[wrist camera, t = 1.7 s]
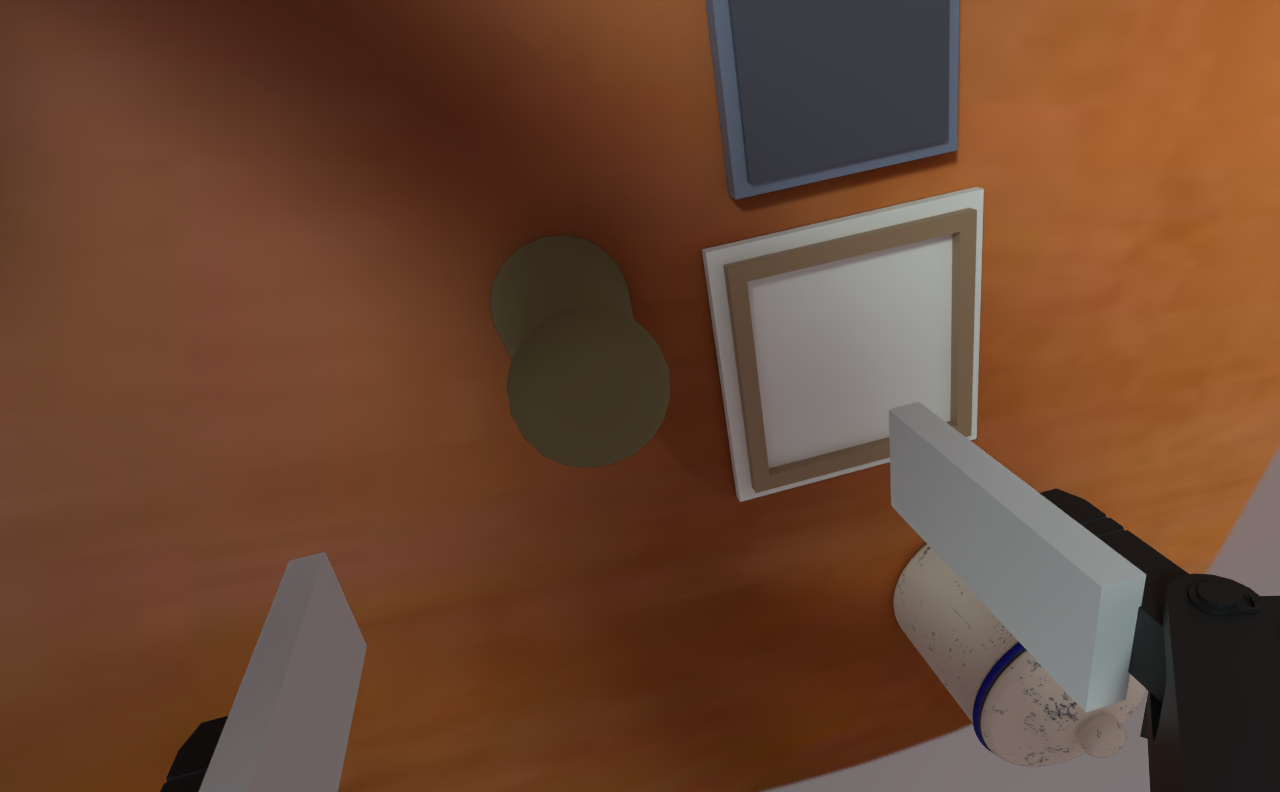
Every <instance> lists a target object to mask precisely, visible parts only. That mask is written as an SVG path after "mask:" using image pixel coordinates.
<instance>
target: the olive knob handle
mask: <svg viewBox="0 0 1280 792" xmlns="http://www.w3.org/2000/svg"><path fill="white" fill-rule="evenodd" d="M490 306H491V312H492V318H493V324H494V326H495V328H496V330H497V332H498V334H499V336H500V338H501V340H502V342H503V344H504V346H505V348H506V350H507V352H508V354H509V356H510V358H511V366H510V371H509V377H508V382H507V392H508V398H509V404H510V410H511V415H512V417H513V419H514V421H515V423H516V424H517V426H518V428H519V430H520V431H521V433H522V435H523V436H524V438H525V439H526V440H527V441H528V442H529V443H530V444H531V445H532V446H533V447H534V448H536V449H537V450H538V451H539V452H540V453H541V454H542V455H543V456H545V457H547V458H550V459H552V460H554V461H557V462H559V463H561V464H563V465H567V466H575V467H584V468H592V467H598V466H605V465H611V464H614V463H616V462H618V461H620V460H623V459H625V458H627V457H629V456H631V455H633V454H635V453H636V452H637V451H638V450H639V449H641V448H642V447H643V446H644V445H645V444H646V443H648V442H649V441H650V440H651V439H652V438H653V436H654V435H655V433H656V432H657V430H658V429H659V427H660V425H661V424H662V422H663V421H664V419H665V415H666V411H667V408H668V404H669V400H670V379H669V367H668V365H667V363H666V360H665V358H664V355H663V353H662V351H661V348H660V346H659V345H658V343H657V342H656V341H655V339H654V338H653V337H652V336H651V335H650V334H649V333H648V332H647V331H646V330H645V329H644V328H643V326H642V325H641V324H640V323H638V322H636V321H635V320H634V315H633V310H632V305H631V299H630V294H629V289H628V285H627V282H626V280H625V278H624V275H623V273H622V271H621V268H620V266H619V265H618V264H617V263H616V262H615V260H614V259H613V258H612V257H611V256H610V255H609V254H608V253H607V252H606V250H604V249H602V248H601V247H599V246H597V245H595V244H594V243H592V242H590V241H588V240H587V239H583V238H578V237H573V236H568V235H557V236H549V237H541V238H539V239H537V240H534V241H532V242H530V243H528V244H526V245H524V246H521V247H520V248H519V249H518V250H517V251H516V252H515V253H514V254H512V255H511V256H510V257H509V258H508V259H507V260H506V261H505V262H504V263H503V265H502V267H501V269H500V271H499V273H498V274H497V276H496V278H495V280H494V282H493V288H492V294H491V300H490Z"/></svg>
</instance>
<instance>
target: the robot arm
mask: <svg viewBox="0 0 1280 792" xmlns="http://www.w3.org/2000/svg"><path fill="white" fill-rule="evenodd" d="M889 441H890V480H891V506H892V507H893V508H894V509H895V510H896V511H897V512H898V513H899V514H900V516H901V517H902V518H903V519H904V520H905V521H906V522H907V523H908V524H909V525H910V526H911V527H912V528H913V529H914V530H915V531H916V533H917V534H918V535H919V536H920V537H921V538H922V539H923V540H924V541H925V542H926V543H927V544H928V545H929V546H930V547H931V549H932V550H933V551H934V552H935V553H936V554H937V555H938V556H939V557H940V558H941V559H942V560H943V561H944V562H945V563H946V565H947V566H948V567H949V568H950V569H951V570H952V571H953V572H954V573H955V574H956V575H957V576H958V577H959V578H960V579H961V581H962V582H963V583H964V584H965V585H966V586H967V587H968V588H969V589H970V590H971V591H972V592H973V593H974V594H975V595H976V597H977V598H978V599H979V600H980V601H981V602H982V603H983V604H984V605H985V606H986V607H987V608H988V609H989V610H990V611H991V612H992V614H993V615H994V616H995V617H996V618H997V619H998V620H999V621H1000V622H1001V623H1002V624H1003V625H1004V626H1005V627H1006V628H1007V630H1008V631H1009V632H1010V633H1011V634H1012V635H1013V636H1014V637H1015V638H1016V639H1017V640H1018V641H1019V642H1020V643H1021V644H1022V646H1023V647H1024V648H1025V649H1026V650H1027V651H1028V652H1029V653H1030V654H1031V655H1032V656H1033V657H1034V658H1035V659H1036V660H1037V662H1038V663H1039V664H1040V665H1041V666H1042V667H1043V668H1044V669H1045V670H1046V671H1047V672H1048V673H1049V674H1050V675H1051V676H1052V678H1053V679H1054V680H1055V681H1056V682H1057V683H1058V684H1059V685H1060V686H1061V687H1062V688H1063V689H1064V690H1065V691H1066V692H1067V693H1068V695H1069V696H1070V697H1071V698H1072V699H1073V700H1074V701H1075V702H1076V703H1077V704H1078V705H1079V706H1080V707H1081V708H1082V709H1083V711H1084V712H1085V713H1086V712H1089V711H1092V710H1095V709H1099V708H1102V707H1105V706H1108V705H1112V704H1115V703H1118V702H1121V701H1125V700H1126V695H1127V689H1128V683H1129V677H1130V674H1131V675H1132V676H1133V677H1134V678H1135V679H1136V680H1137V681H1138V682H1139V683H1140V684H1142V685H1143V686H1144V687H1145V688H1146V689H1147V690H1148V697H1147V702H1146V708H1145V713H1144V719H1143V725H1142V730H1141V737H1144V738H1147V739H1148V755H1149V773H1150V792H1280V596H1259V595H1258V594H1256V593H1255V592H1254V591H1253V590H1251V589H1250V588H1248V587H1246V586H1244V585H1242V584H1240V583H1238V582H1236V581H1233V580H1231V579H1227V578H1223V577H1219V576H1215V575H1209V574H1188V573H1187V572H1185V571H1184V570H1183V569H1181V568H1180V567H1178V566H1177V565H1176V564H1174V563H1173V562H1171V561H1170V560H1169V559H1167V558H1166V557H1164V556H1163V555H1162V554H1160V553H1159V552H1157V551H1156V550H1155V549H1153V548H1152V547H1150V546H1149V545H1148V544H1146V543H1145V542H1143V541H1142V540H1141V539H1139V538H1138V537H1136V536H1135V535H1134V534H1132V533H1131V532H1129V531H1128V530H1126V531H1125V530H1124V529H1123V527H1122V526H1121V525H1120V524H1118V523H1117V522H1115V521H1114V520H1113V519H1111V518H1107V517H1106V514H1104V513H1103V512H1101V511H1100V510H1099V509H1097V508H1096V507H1094V506H1093V505H1092V504H1090V503H1089V502H1087V501H1086V500H1085V499H1082V498H1079V497H1077V496H1074V495H1072V494H1069V493H1067V492H1064V491H1061V490H1059V489H1053V490H1049V491H1045V492H1042V493H1038V492H1037V491H1036V490H1034V489H1033V488H1032V487H1030V486H1029V485H1028V484H1027V483H1025V482H1024V481H1023V480H1021V479H1020V478H1019V477H1017V476H1016V475H1015V474H1013V473H1012V472H1011V471H1009V470H1008V469H1007V468H1006V467H1004V466H1003V465H1002V464H1000V463H999V462H998V461H996V460H995V459H994V458H992V457H991V456H990V455H988V454H987V453H986V452H984V451H983V450H982V449H981V448H979V447H978V446H977V445H975V444H974V443H973V442H971V441H970V440H969V439H967V438H966V437H965V436H963V435H962V434H961V433H959V432H958V431H957V430H956V429H954V428H953V427H952V426H950V425H949V424H948V423H946V422H945V421H944V420H942V419H941V418H940V417H938V416H937V415H936V414H934V413H933V412H932V411H931V410H929V409H928V408H927V407H925V406H924V405H923V404H921V403H920V402H915V403H911V404H907V405H903V406H900V407H896V408H892V409H889ZM366 647H367V646H366V643H365V641H364V639H363V637H362V634H361V632H360V630H359V628H358V625H357V623H356V621H355V618H354V616H353V614H352V612H351V609H350V607H349V605H348V603H347V600H346V598H345V596H344V594H343V591H342V589H341V587H340V585H339V582H338V580H337V578H336V576H335V573H334V571H333V569H332V567H331V564H330V562H329V560H328V558H327V555H326V553H325V552H323V553H319V554H315V555H311V556H307V557H303V558H299V559H295V560H291V561H289V563H288V565H287V568H286V570H285V573H284V575H283V578H282V580H281V583H280V585H279V588H278V591H277V593H276V596H275V598H274V601H273V603H272V606H271V608H270V611H269V614H268V616H267V619H266V621H265V624H264V626H263V629H262V631H261V634H260V637H259V639H258V642H257V644H256V647H255V649H254V652H253V654H252V657H251V659H250V662H249V665H248V667H247V670H246V672H245V675H244V677H243V680H242V682H241V685H240V688H239V690H238V693H237V695H236V698H235V700H234V703H233V705H232V708H231V711H230V713H229V716H226V717H222V718H218V719H215V720H211V721H207V722H204V723H201V724H200V725H199V727H198V728H197V729H196V730H195V731H194V733H193V734H192V735H191V736H190V737H189V739H188V740H187V741H186V742H185V743H184V745H183V746H182V747H181V748H180V749H179V751H178V753H177V755H176V758H175V760H174V762H173V764H172V767H171V769H170V771H169V773H168V776H167V783H164V785H163V787H162V789H161V791H160V792H338V787H339V782H340V777H341V772H342V767H343V762H344V757H345V752H346V747H347V742H348V737H349V732H350V727H351V722H352V717H353V712H354V707H355V702H356V697H357V692H358V687H359V682H360V677H361V672H362V667H363V662H364V657H365V652H366Z"/></svg>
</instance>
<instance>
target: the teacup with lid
mask: <svg viewBox="0 0 1280 792" xmlns="http://www.w3.org/2000/svg"><path fill="white" fill-rule="evenodd" d="M893 606H894V613H895V617H896V620H897V622H898V624H899V626H900V627H901V629H902V630H903V632H904V633H905V634H906V636H907V637H908V638H909V639H910V641H911V642H912V643H913V645H914V646H915V647H916V649H917V650H918V651H919V653H920V654H921V655H922V657H923V658H924V659H925V661H926V662H927V663H928V665H929V666H930V667H931V669H932V670H933V671H934V673H935V674H936V675H937V677H938V678H939V679H940V681H941V682H942V683H943V685H944V686H945V687H946V688H947V690H948V691H949V692H950V694H951V695H952V696H953V698H954V699H955V700H956V702H957V703H958V704H959V706H960V707H961V708H962V710H963V711H964V712H965V714H966V715H967V716H968V718H969V719H970V720H971V722H972V723H973V726H974V730H975V733H976V735H977V737H978V739H979V740H980V742H981V743H982V744H983V745H984V746H985V747H986V748H987V749H988V750H989V751H991V752H993V753H994V754H995V755H996V756H998V757H1000V758H1001V759H1003V760H1006V761H1008V762H1010V763H1013V764H1016V765H1021V766H1031V767H1033V766H1034V767H1038V766H1047V765H1053V764H1057V763H1061V762H1064V761H1067V760H1070V759H1073V758H1075V757H1077V756H1080V755H1082V754H1084V753H1086V752H1087V753H1088V754H1090V755H1091V756H1094V757H1098V758H1105V757H1108V756H1111V755H1113V754H1114V753H1116V752H1117V751H1118V750H1120V749H1121V748H1122V746H1123V745H1124V743H1125V741H1126V731H1125V728H1124V727H1123V724H1124V723H1125V722H1126V721H1127V720H1128V718H1129V717H1130V716H1131V715H1132V713H1133V712H1134V711H1135V709H1136V708H1137V706H1138V704H1139V703H1140V701H1141V699H1142V697H1143V695H1144V692H1145V690H1146V688H1145V687H1144V686H1143V685H1142V684H1140V683H1139V682H1138V681H1137V680H1136V679H1135V678H1134V677H1133V676H1132V675H1131V674H1130V677H1129V683H1128V689H1127V695H1126V700H1125V701H1121V702H1118V703H1115V704H1112V705H1108V706H1105V707H1102V708H1099V709H1095V710H1092V711H1089V712H1086V713H1085V712H1084V711H1083V709H1082V708H1081V707H1080V706H1079V705H1078V704H1077V703H1076V702H1075V701H1074V700H1073V699H1072V698H1071V697H1070V696H1069V695H1068V693H1067V692H1066V691H1065V690H1064V689H1063V688H1062V687H1061V686H1060V685H1059V684H1058V683H1057V682H1056V681H1055V680H1054V679H1053V678H1052V676H1051V675H1050V674H1049V673H1048V672H1047V671H1046V670H1045V669H1044V668H1043V667H1042V666H1041V665H1040V664H1039V663H1038V662H1037V660H1036V659H1035V658H1034V657H1033V656H1032V655H1031V654H1030V653H1029V652H1028V651H1027V650H1026V649H1025V648H1024V647H1023V646H1022V644H1021V643H1020V642H1019V641H1018V640H1017V639H1016V638H1015V637H1014V636H1013V635H1012V634H1011V633H1010V632H1009V631H1008V630H1007V628H1006V627H1005V626H1004V625H1003V624H1002V623H1001V622H1000V621H999V620H998V619H997V618H996V617H995V616H994V615H993V614H992V612H991V611H990V610H989V609H988V608H987V607H986V606H985V605H984V604H983V603H982V602H981V601H980V600H979V599H978V598H977V597H976V595H975V594H974V593H973V592H972V591H971V590H970V589H969V588H968V587H967V586H966V585H965V584H964V583H963V582H962V581H961V579H960V578H959V577H958V576H957V575H956V574H955V573H954V572H953V571H952V570H951V569H950V568H949V567H948V566H947V565H946V563H945V562H944V561H943V560H942V559H941V558H940V557H939V556H938V555H937V554H936V553H935V552H934V551H933V550H932V549H931V547H930V546H929V545H928V544H926V545H925V546H923V547H922V548H921V549H920V550H919V551H918V552H917V553H916V554H915V555H914V556H913V557H912V558H911V560H910V561H909V562H908V564H907V565H906V566H905V568H904V570H903V571H902V573H901V575H900V577H899V579H898V582H897V585H896V588H895V592H894V600H893Z"/></svg>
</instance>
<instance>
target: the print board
mask: <svg viewBox="0 0 1280 792" xmlns="http://www.w3.org/2000/svg"><path fill="white" fill-rule="evenodd" d="M983 196H984V189H982V188H978V187H973V188H969V189H964V190H960V191H955V192H951V193H947V194H942V195H938V196H934V197H929V198H925V199H920V200H916V201H912V202H907V203H903V204H899V205H894V206H890V207H886V208H881V209H877V210H872V211H868V212H864V213H859V214H855V215H851V216H846V217H842V218H837V219H833V220H829V221H824V222H820V223H816V224H811V225H807V226H802V227H798V228H794V229H789V230H785V231H781V232H776V233H772V234H768V235H763V236H759V237H754V238H750V239H746V240H741V241H737V242H733V243H728V244H724V245H719V246H715V247H711V248H706V249H702V255H703V262H704V269H705V276H706V283H707V290H708V297H709V304H710V311H711V319H712V326H713V333H714V340H715V347H716V354H717V361H718V368H719V375H720V382H721V390H722V397H723V404H724V411H725V418H726V425H727V432H728V439H729V446H730V453H731V460H732V468H733V475H734V482H735V489H736V496H737V498H738V499H739V501H740V502H742V501H746V500H750V499H753V498H757V497H761V496H764V495H768V494H772V493H776V492H779V491H783V490H787V489H791V488H794V487H798V486H802V485H806V484H809V483H813V482H817V481H821V480H824V479H828V478H832V477H836V476H839V475H843V474H847V473H851V472H854V471H858V470H862V469H865V468H869V467H873V466H877V465H880V464H884V463H888V462H890V441H889V409H892V408H896V407H900V406H903V405H907V404H911V403H915V402H920V403H921V404H923V405H924V406H925V407H927V408H928V409H929V410H931V411H932V412H933V413H934V414H936V415H937V416H938V417H940V418H941V419H942V420H944V421H945V422H946V423H948V424H949V425H950V426H952V427H953V428H954V429H956V430H957V431H958V432H959V433H961V434H962V435H963V436H965V437H966V438H967V439H969V440H974V439H976V438H977V403H978V369H979V334H980V300H981V265H982V231H983Z"/></svg>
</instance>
